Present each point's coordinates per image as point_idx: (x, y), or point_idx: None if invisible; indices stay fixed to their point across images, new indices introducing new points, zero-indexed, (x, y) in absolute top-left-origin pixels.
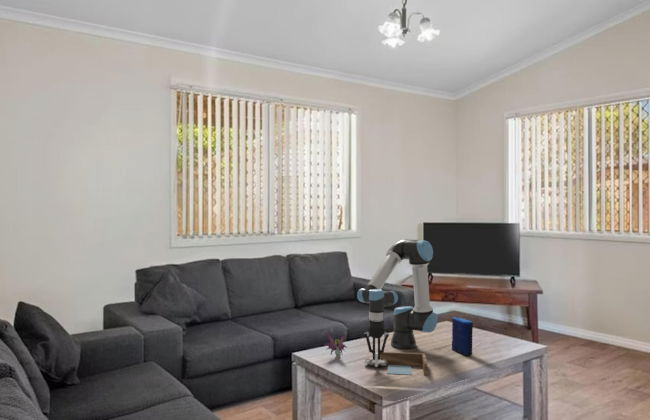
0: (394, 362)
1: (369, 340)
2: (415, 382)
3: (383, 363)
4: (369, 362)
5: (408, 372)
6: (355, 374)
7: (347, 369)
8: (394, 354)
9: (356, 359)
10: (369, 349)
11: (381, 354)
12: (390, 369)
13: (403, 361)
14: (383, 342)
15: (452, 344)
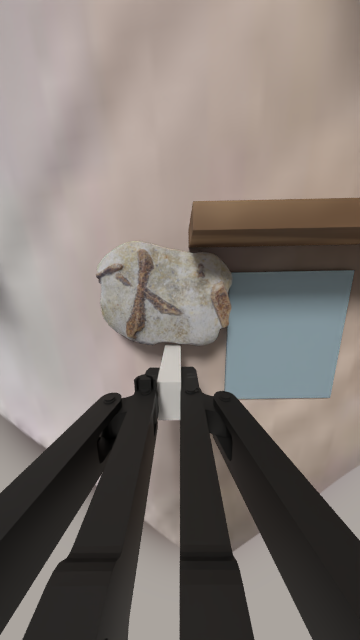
0: (272, 243)
1: (18, 527)
2: (324, 467)
3: (211, 342)
4: (131, 339)
5: (320, 375)
6: None
7: (41, 366)
8: (305, 231)
9: (40, 180)
10: (99, 450)
11: (201, 234)
12: (240, 346)
13: (331, 241)
14: (277, 567)
15: None
